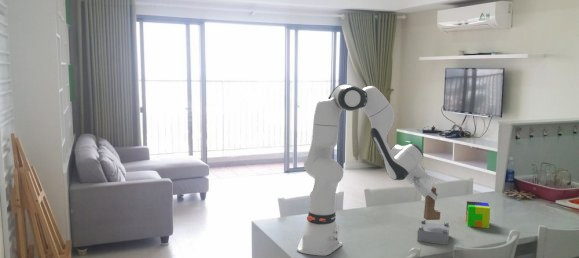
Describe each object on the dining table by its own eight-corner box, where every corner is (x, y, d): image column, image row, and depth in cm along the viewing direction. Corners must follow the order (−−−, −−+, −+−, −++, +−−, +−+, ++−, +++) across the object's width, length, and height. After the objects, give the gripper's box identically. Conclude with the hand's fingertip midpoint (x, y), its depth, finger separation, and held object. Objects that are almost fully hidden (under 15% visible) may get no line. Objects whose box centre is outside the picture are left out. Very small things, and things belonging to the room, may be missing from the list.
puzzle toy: (486, 221, 246) (487, 202, 244) (489, 228, 236) (490, 208, 235) (465, 220, 248) (466, 201, 247) (467, 226, 239) (468, 206, 237)
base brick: (447, 244, 213) (448, 231, 212) (417, 240, 217) (417, 227, 216) (448, 235, 225) (449, 222, 224) (420, 231, 229) (420, 219, 228)
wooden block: (426, 220, 219) (429, 188, 217) (423, 217, 222) (426, 186, 220) (439, 220, 220) (443, 188, 218) (436, 217, 223) (439, 186, 221)
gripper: (418, 175, 210) (440, 199, 208) (422, 166, 229) (443, 188, 227) (407, 184, 212) (429, 208, 210) (412, 174, 231) (433, 196, 229)
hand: (436, 197), depth 218 cm, fingers closed on wooden block, 4 cm apart
